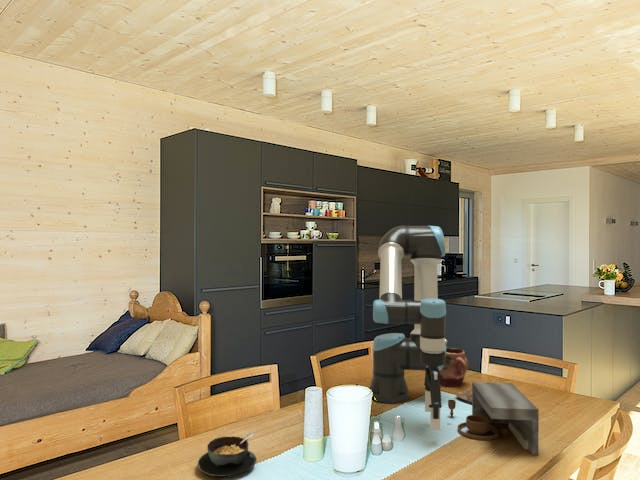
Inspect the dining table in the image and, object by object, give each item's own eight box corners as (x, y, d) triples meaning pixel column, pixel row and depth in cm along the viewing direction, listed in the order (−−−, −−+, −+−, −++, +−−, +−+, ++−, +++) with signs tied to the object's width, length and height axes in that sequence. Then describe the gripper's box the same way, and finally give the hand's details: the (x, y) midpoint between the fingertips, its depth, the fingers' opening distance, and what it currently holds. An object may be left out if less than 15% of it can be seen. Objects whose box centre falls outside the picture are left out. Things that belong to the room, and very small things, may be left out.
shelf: (491, 453, 138) (491, 407, 138) (472, 420, 164) (472, 382, 164) (538, 455, 137) (538, 409, 137) (511, 422, 162) (512, 383, 163)
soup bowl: (197, 456, 136) (197, 429, 136) (256, 450, 140) (256, 424, 140) (197, 482, 122) (198, 451, 122) (264, 475, 126) (264, 445, 126)
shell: (474, 394, 193) (475, 384, 193) (501, 403, 182) (502, 393, 182) (452, 397, 187) (453, 387, 187) (479, 407, 176) (479, 397, 176)
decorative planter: (480, 389, 198) (480, 354, 198) (454, 393, 193) (454, 356, 194) (450, 376, 216) (450, 344, 217) (426, 379, 212) (426, 346, 212)
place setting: (448, 439, 149) (448, 419, 149) (445, 416, 169) (445, 399, 169) (510, 444, 146) (511, 424, 146) (500, 420, 165) (500, 402, 165)
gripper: (452, 362, 140) (451, 437, 141) (439, 341, 165) (438, 405, 165) (424, 361, 141) (424, 436, 141) (416, 340, 165) (415, 404, 166)
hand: (432, 419), depth 153 cm, fingers open, 13 cm apart
